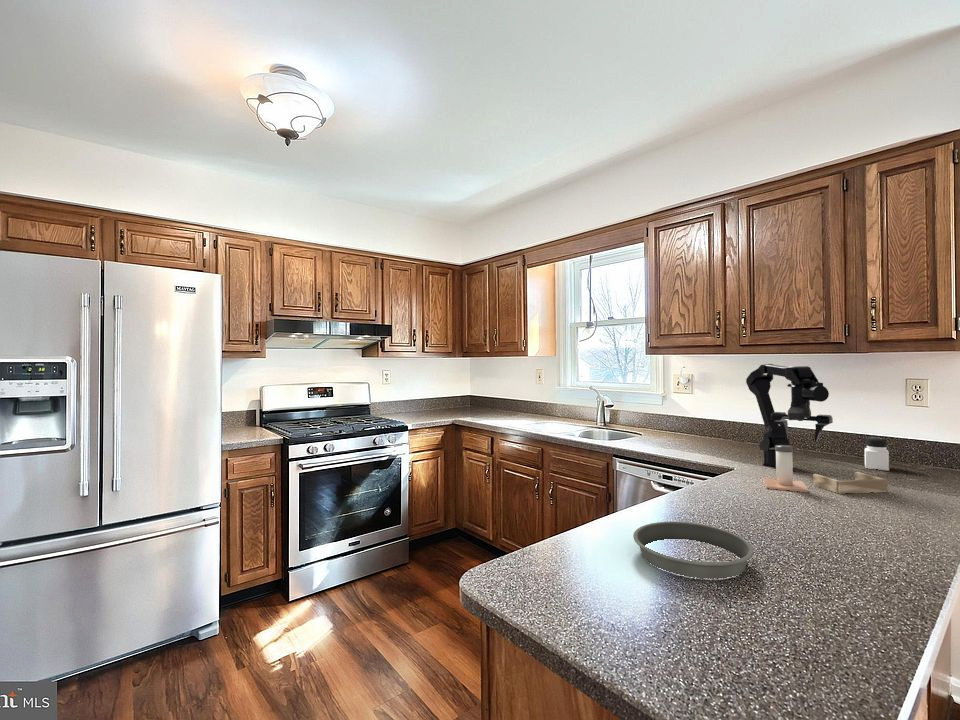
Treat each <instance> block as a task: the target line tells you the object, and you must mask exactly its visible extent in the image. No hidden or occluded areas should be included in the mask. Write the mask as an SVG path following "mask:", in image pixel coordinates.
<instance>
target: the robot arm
mask: <svg viewBox="0 0 960 720" xmlns="http://www.w3.org/2000/svg"><path fill="white" fill-rule="evenodd" d="M774 376H778V377H779V376H780V377H783V378H785V379H786V380H788V381H789V383H788V384H787V388H791V389H790V393H791V396H790V397H791V400H790V401H791V402H790V406H789V409H788V410H787V411H784V412H781V411H775V409H774V406H773V403H772V402H773V401H772V400H771V396H770V393H769V392H770V390H771V382H772V381H773V380H774ZM745 383H746V385H747V387H748V390H749V391H750V392H751V393H752V394H753V395H754V396H755V399H756V402H757V405H758V408H759V411H760V414H761V419H762V422H763V424H764V425H763V426H764V431H763V433H762V436H763V439H762V440H761V442H759V444H758V446H759V449H760V450H761V451H763V463H762V466H766V465H767V466H768V467H775V468H776V450H775V446H776V445H787V446H790V436H789V427H788V425H789V424H788V420H789V421H799V422H803V421H811V422H816V423H815V433H814V443H817V442H818V440H819V438H820V435H821V433H822V431H823V429H824V427H826V426H829V425H831V424H832V423H834V422H833V421H834V420H833V419H834V417H833V415H831V414H817V415H815V416H814V415H812V411H811V402H812V401H813V402H819V403H820V402H825V401H827V399H828V398H829V395H830V392H829V390H828V388H827V387H825V386H824V383H823V382H819V379H818V378H817V377H816V375H815V373H814V371H813V370H812V368H811V366H809V365H807V366H806V365H805V366H804V365H803V366H801V365H799V366H785V365H778V364H773V363H763V364H760V365H759V366H758V368H756V369H755V370H752V371H751V372H750V374H749V375H748V376H747V378H746V379H745Z"/></svg>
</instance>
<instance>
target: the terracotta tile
mask: <svg viewBox="0 0 960 720" xmlns="http://www.w3.org/2000/svg"><path fill="white" fill-rule="evenodd" d="M762 481H763V484H764V487H765V486H766V487H765V489H766V488H769V489H768V490H775V489H778V490H777V491H786V490H790V491H789V492H796V491H800V492H799V493H807V492H809V493H810V490H809V489H808V487H807V486H806V484H805V483H804V481H801V480H793V485H790V486H788V485H780V484H777V479H776V478H767V477H766V478H765V477H763V478H762Z"/></svg>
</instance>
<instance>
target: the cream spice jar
mask: <svg viewBox="0 0 960 720" xmlns="http://www.w3.org/2000/svg"><path fill="white" fill-rule="evenodd" d="M793 449H794V447H793V446H791V445H789V446H787V445H776V446H775V450H776V467H775V470H776V471H775V472H776V474H775V475H776V478H775V479H777V484H780V485H788V486H790V485H793V481H794V472H793V471H794V470H793V469H794V468H793V467H794V466H793V465H794V464H793V452H794V451H793Z"/></svg>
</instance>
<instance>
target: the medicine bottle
mask: <svg viewBox="0 0 960 720" xmlns="http://www.w3.org/2000/svg"><path fill="white" fill-rule="evenodd" d="M887 445H888V444H887V440H886V439H885V438H883V437H875V436H874V437H873V436H871V437H867V438H866V447H865V448H864V467H865V469H866V468H868V470H876V469H878V471H886V472H887V471H890V469H891V468H890V452H889V450H888V447H887Z"/></svg>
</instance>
